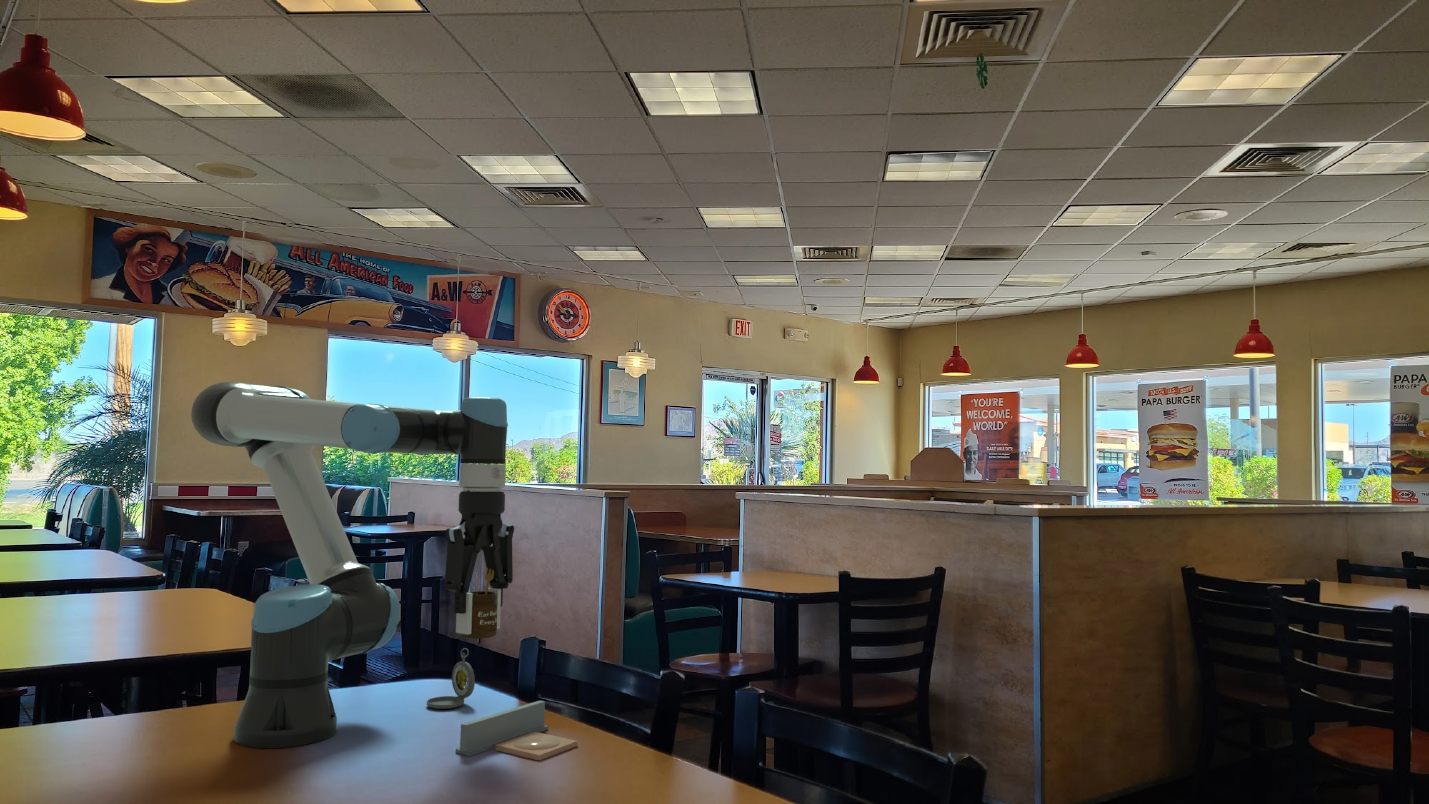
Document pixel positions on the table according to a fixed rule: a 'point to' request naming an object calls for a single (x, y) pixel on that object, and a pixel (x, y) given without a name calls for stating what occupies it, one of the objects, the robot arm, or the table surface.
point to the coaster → (536, 745)
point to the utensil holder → (483, 611)
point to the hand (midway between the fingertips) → (478, 630)
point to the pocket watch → (457, 686)
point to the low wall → (501, 728)
